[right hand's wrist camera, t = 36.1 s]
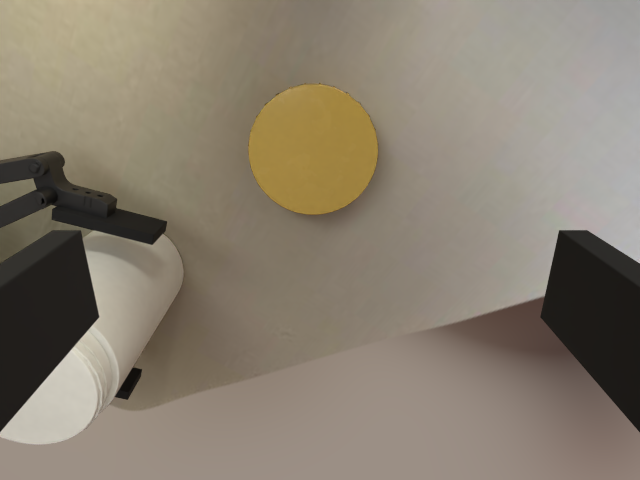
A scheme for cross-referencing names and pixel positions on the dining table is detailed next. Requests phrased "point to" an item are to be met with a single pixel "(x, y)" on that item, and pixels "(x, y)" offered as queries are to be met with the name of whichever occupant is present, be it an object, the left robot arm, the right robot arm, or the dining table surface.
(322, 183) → the lid
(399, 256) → the dining table surface
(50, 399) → the jar
